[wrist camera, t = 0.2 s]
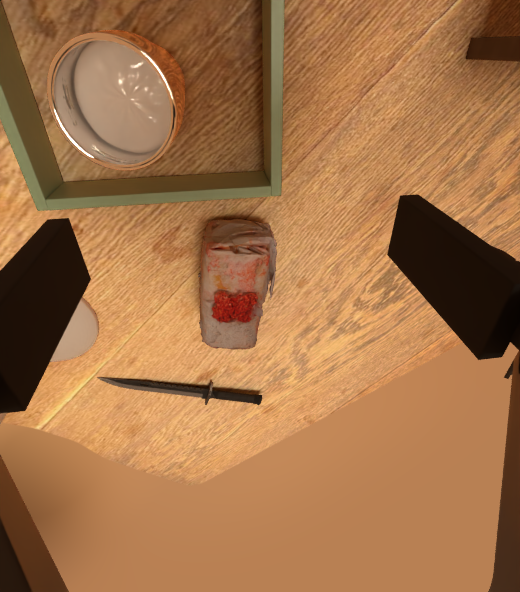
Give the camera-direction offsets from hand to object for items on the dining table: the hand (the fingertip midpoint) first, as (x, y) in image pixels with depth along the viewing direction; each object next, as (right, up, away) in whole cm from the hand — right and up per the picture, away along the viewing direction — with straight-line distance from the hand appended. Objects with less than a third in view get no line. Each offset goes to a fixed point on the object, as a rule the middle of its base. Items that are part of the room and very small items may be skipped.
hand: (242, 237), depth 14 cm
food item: (-3, +1, +28) cm, 28 cm away
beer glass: (-9, +16, +17) cm, 25 cm away
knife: (-11, -16, +40) cm, 44 cm away
